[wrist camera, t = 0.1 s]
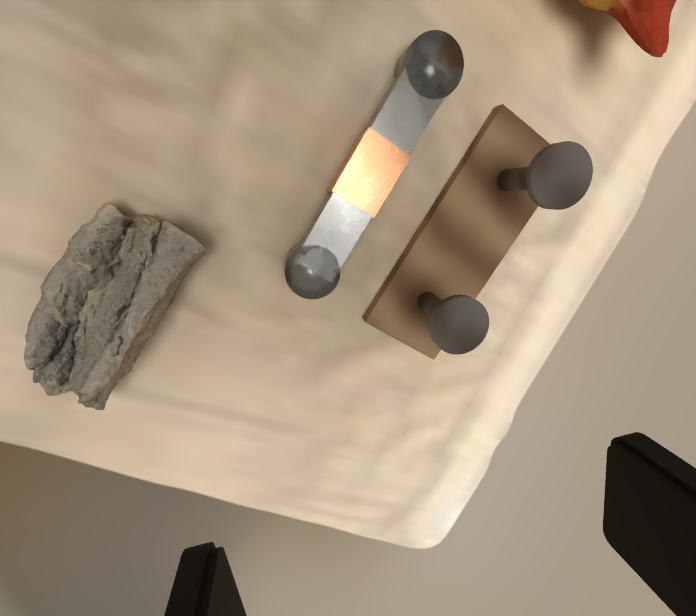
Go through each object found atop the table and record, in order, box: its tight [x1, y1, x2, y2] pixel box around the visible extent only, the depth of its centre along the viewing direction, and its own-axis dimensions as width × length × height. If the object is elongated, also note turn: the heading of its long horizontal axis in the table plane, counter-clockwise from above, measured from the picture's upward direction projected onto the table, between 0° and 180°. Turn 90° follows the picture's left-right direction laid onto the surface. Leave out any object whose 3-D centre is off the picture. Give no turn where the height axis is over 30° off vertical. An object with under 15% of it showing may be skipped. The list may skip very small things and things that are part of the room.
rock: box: [24, 203, 207, 410], centre depth 34 cm, size 11×18×10 cm, turn 148°
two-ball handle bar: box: [285, 30, 464, 299], centre depth 35 cm, size 25×5×4 cm, turn 148°
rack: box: [363, 104, 593, 359], centre depth 35 cm, size 24×9×10 cm, turn 148°
